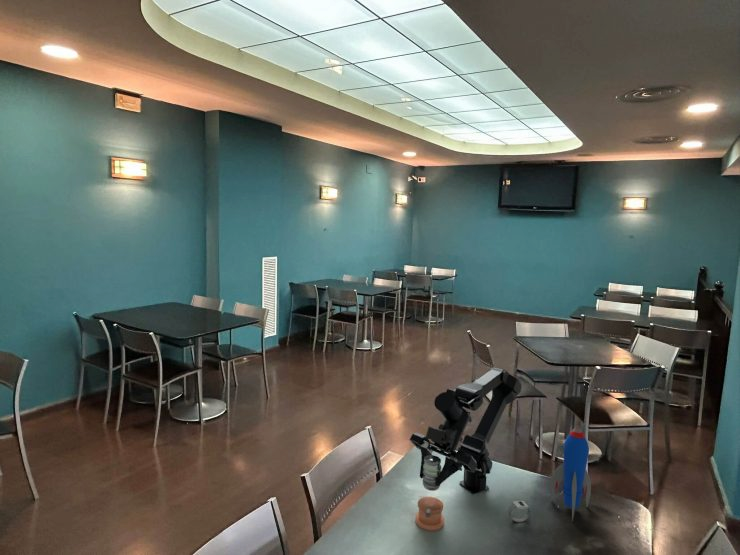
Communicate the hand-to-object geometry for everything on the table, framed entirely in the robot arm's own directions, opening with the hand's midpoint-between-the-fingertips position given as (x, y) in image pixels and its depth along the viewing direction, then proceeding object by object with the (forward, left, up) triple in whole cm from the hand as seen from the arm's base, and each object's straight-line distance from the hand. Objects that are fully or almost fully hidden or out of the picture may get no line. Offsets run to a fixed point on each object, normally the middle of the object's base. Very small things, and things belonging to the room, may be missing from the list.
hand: (428, 481), depth 119 cm
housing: (0, +1, -12) cm, 12 cm away
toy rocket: (+14, +39, -12) cm, 43 cm away
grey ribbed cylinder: (0, +1, -2) cm, 3 cm away
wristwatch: (+10, +23, -12) cm, 28 cm away
